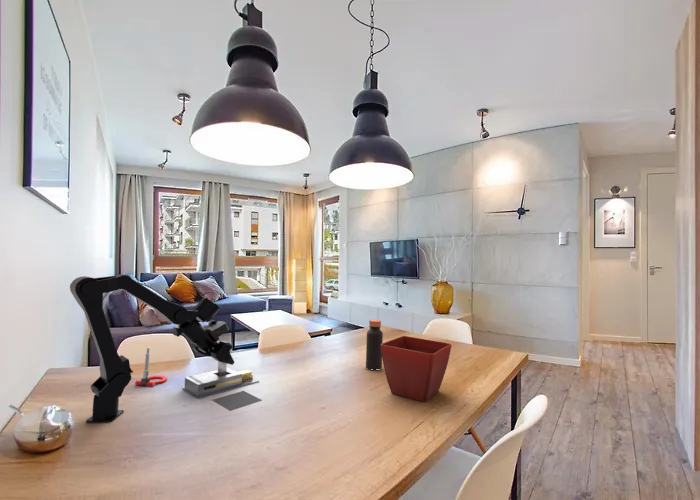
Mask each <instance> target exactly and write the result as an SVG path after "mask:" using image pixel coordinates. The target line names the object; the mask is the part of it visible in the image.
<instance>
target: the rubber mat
mask: <svg viewBox="0 0 700 500" xmlns="http://www.w3.org/2000/svg"><path fill="white" fill-rule="evenodd" d="M212 401H213V402H214V403H216V404H218V405H220V406H222V407H223V408H224V409H227V410H228V411H229V412H231V411H234V410H237V409H240V408H243V407H246V406H250V405H252V404H255V403H259V402H262V401H263V399H261V398H259V397H257V396H255V395H253V394H251V393H249V392H247V391H244V390H240V391H238V392H234V393H231V394H227V395H224V396H220V397H218V398H212Z"/></svg>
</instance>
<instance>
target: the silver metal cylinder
mask: <svg viewBox="0 0 700 500" xmlns="http://www.w3.org/2000/svg"><path fill="white" fill-rule="evenodd" d="M227 368H228V364H227V363H223V362H219V361H217V370H218V376H219V377H220V376H224V375H227Z"/></svg>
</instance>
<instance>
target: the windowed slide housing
mask: <svg viewBox="0 0 700 500" xmlns="http://www.w3.org/2000/svg"><path fill="white" fill-rule="evenodd" d="M259 382H260V381H259V379H255V378H254V374H253V372H252V371H251V370H249V369H245V370H244V369H243V370H241V371H236V370H234V369H232V368H230V367H227V375H224V376H220V377H219V376H218V369H216V370H212V371H208V372H203V373H198V374H194V375H190V376H189V375H188V376H185V377H184V386H182V387H181V389H182V390H183V391H184V392H186V393H188V394H189V395H191V396H192V397H195V398H196V399H198V400H200V399H204V398H206V397H207V398H208V397H211V396H215V395H218V394H223V393H226V392H229V391H232V390H236V389H239V388H240V389H241V388H243V387H247V386H250V385H254V384H257V383H259Z"/></svg>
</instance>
